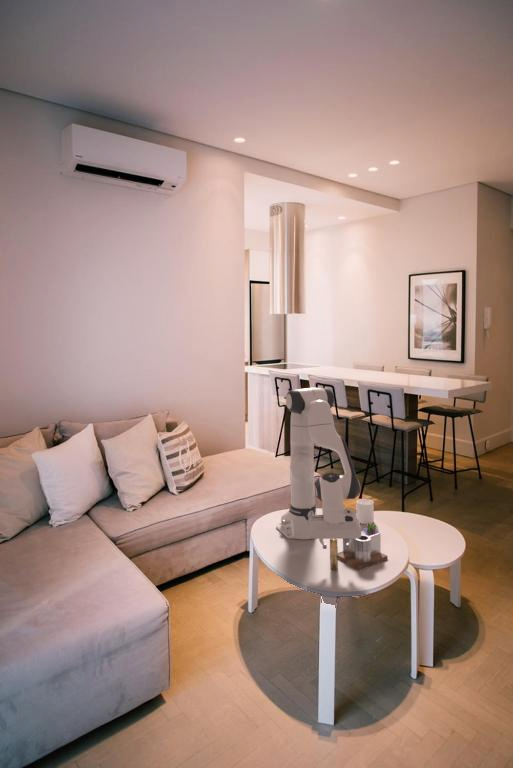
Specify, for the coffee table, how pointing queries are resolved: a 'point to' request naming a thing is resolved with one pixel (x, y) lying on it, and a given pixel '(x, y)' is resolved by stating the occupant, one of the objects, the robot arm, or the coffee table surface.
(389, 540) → the coffee table surface
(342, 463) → the robot arm
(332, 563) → the pin
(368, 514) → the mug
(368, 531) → the geometric puzzle
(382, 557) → the base board
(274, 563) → the coffee table surface
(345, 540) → the grey socket block
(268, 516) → the coffee table surface
